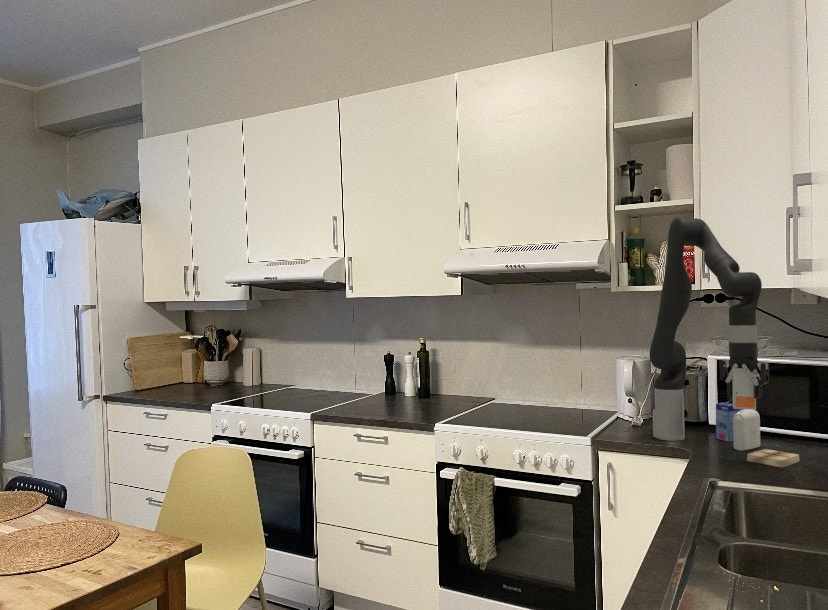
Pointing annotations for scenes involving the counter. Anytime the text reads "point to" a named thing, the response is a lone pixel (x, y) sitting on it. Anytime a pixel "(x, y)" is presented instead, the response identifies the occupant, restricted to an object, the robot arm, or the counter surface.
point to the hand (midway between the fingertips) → (744, 396)
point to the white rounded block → (746, 430)
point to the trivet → (773, 458)
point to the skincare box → (743, 390)
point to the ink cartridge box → (725, 420)
